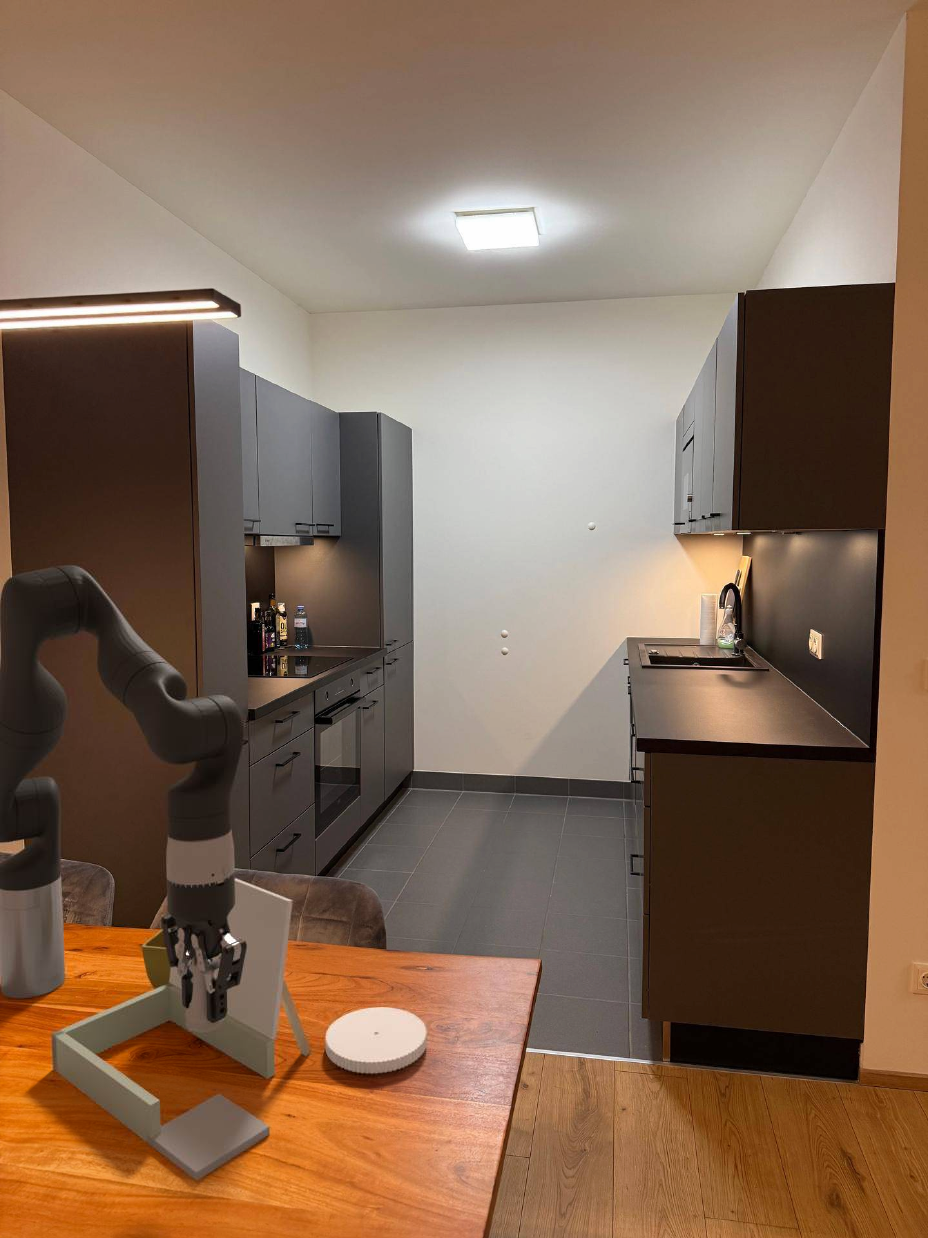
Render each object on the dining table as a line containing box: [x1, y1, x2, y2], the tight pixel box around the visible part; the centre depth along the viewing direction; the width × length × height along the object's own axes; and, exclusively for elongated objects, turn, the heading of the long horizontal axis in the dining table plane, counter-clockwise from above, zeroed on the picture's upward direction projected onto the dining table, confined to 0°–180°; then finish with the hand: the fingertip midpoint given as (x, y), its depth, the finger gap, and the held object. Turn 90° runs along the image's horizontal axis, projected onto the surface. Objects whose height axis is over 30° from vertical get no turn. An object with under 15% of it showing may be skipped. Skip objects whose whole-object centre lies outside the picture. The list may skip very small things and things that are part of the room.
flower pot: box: [141, 928, 171, 990], centre depth 139 cm, size 9×9×9 cm
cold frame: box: [51, 979, 312, 1145], centre depth 120 cm, size 24×24×12 cm
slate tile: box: [146, 1093, 271, 1182], centre depth 105 cm, size 10×10×1 cm
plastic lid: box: [324, 1006, 428, 1074], centre depth 123 cm, size 14×14×2 cm
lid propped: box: [169, 877, 293, 1040], centre depth 125 cm, size 24×4×18 cm, turn 51°
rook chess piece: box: [185, 957, 224, 1033], centre depth 103 cm, size 4×4×8 cm
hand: (204, 1011), depth 103 cm, fingers closed on rook chess piece, 4 cm apart
